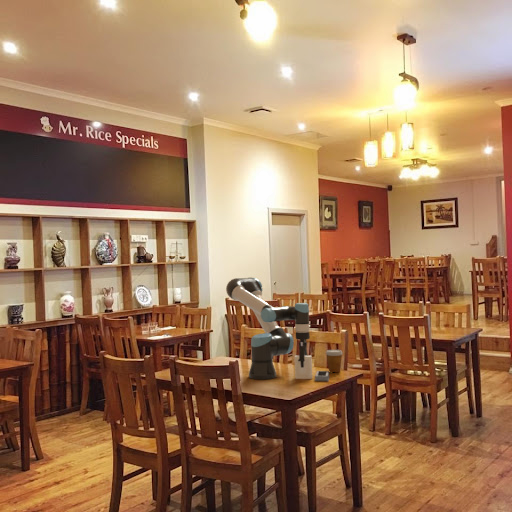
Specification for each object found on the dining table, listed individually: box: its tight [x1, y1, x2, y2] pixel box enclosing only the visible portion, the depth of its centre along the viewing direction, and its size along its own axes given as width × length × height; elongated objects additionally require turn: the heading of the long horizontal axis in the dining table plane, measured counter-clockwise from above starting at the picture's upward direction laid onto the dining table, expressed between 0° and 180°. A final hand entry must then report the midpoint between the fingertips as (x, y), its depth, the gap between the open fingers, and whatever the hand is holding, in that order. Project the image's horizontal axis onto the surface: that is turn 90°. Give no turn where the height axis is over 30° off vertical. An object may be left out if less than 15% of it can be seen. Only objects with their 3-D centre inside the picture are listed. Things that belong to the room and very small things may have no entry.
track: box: [314, 370, 330, 382], centre depth 296 cm, size 7×14×3 cm, turn 170°
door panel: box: [294, 355, 313, 380], centre depth 297 cm, size 9×3×12 cm, turn 80°
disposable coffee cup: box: [325, 349, 343, 373], centre depth 313 cm, size 10×10×12 cm
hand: (303, 371), depth 297 cm, fingers open, 13 cm apart
